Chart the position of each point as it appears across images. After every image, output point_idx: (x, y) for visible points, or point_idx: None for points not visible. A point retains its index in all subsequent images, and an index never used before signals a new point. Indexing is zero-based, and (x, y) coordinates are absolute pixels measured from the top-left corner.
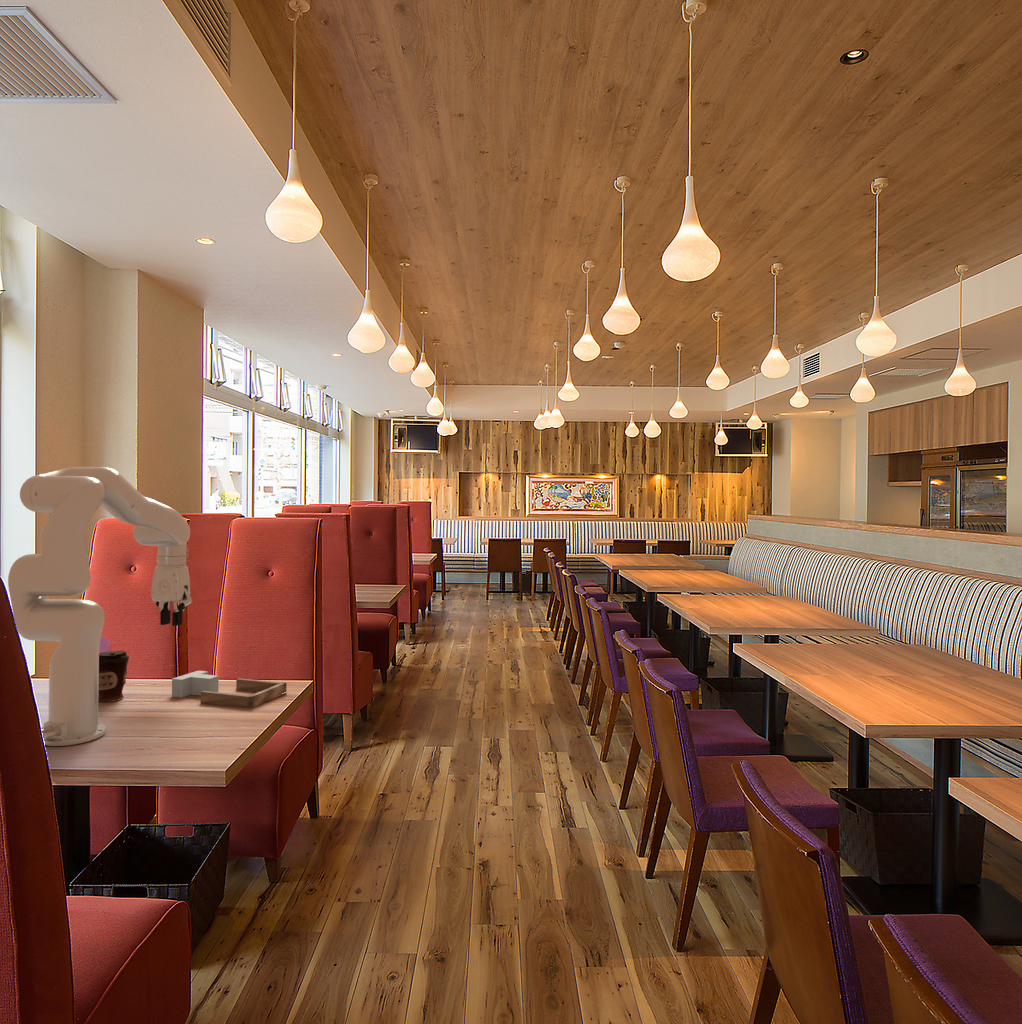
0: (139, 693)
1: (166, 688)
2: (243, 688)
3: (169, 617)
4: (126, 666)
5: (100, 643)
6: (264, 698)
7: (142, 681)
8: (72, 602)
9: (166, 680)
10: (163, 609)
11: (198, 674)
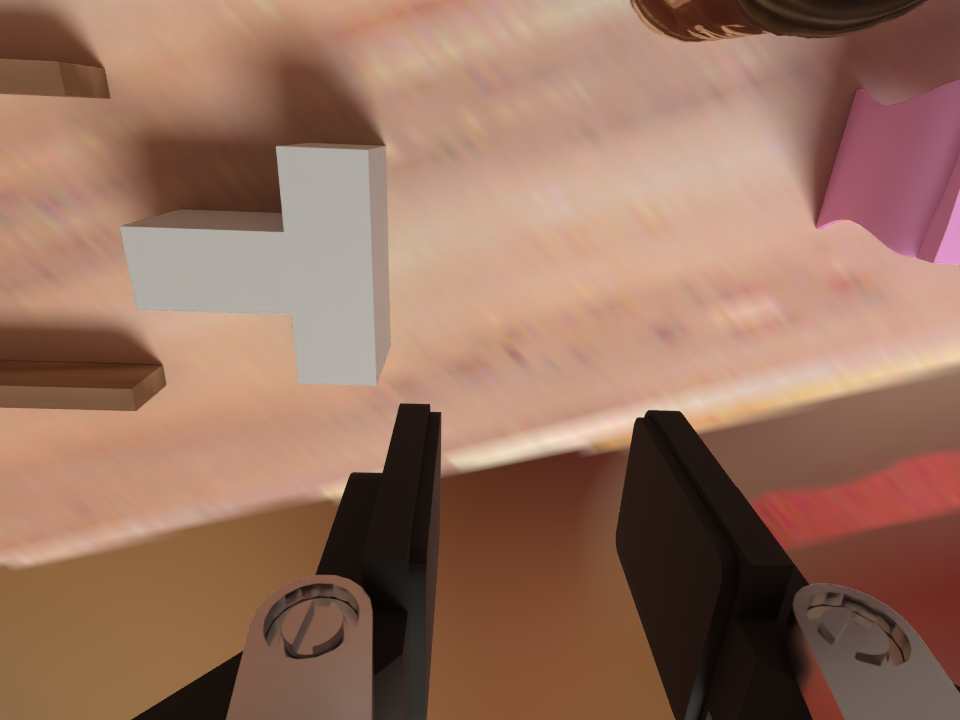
0: (618, 144)
1: (541, 280)
2: (108, 366)
3: (641, 597)
4: None
5: None
6: None
7: (771, 361)
8: None
9: None
10: (768, 651)
11: (291, 302)
